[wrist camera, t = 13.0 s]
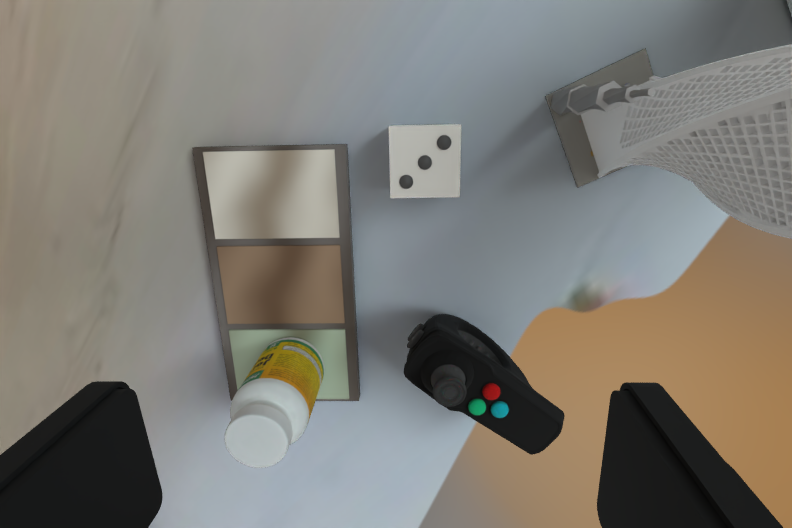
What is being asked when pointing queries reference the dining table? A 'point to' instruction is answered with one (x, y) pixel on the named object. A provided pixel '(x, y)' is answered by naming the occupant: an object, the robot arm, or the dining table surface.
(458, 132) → the die
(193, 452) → the dining table surface
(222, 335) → the game strip
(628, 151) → the skyscraper
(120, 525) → the robot arm
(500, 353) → the controller
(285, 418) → the supplement bottle
